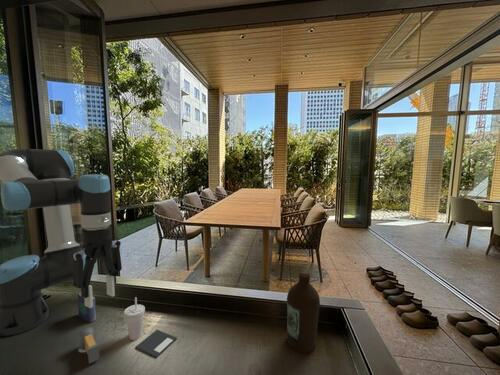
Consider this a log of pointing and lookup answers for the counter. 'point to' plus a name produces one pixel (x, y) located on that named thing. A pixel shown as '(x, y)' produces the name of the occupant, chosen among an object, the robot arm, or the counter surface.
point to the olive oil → (302, 314)
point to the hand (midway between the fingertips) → (100, 300)
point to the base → (83, 350)
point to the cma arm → (89, 344)
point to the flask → (86, 310)
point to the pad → (156, 343)
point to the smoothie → (134, 320)
